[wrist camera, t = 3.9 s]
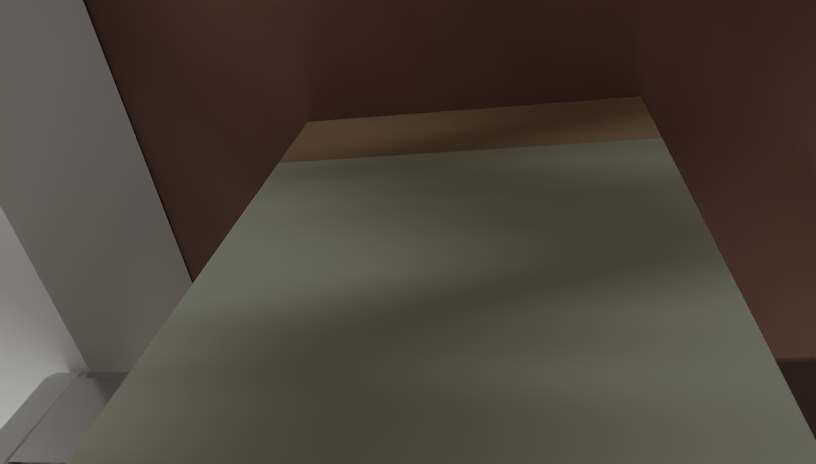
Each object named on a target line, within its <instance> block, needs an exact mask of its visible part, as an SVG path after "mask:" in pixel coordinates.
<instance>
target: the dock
mask: <svg viewBox="0 0 816 464" xmlns="http://www.w3.org/2000/svg"><path fill="white" fill-rule="evenodd" d="M191 285H192V281H191V279H190V276H189V273H188V271H187V268H186V266H185V263H184V260H183V258H182V255H181V253H180V250H179V248H178V245H177V242H176V240H175V237H174V235H173V232H172V229H171V227H170V224H169V222H168V219H167V217H166V214H165V211H164V209H163V206H162V204H161V201H160V198H159V196H158V193H157V191H156V188H155V185H154V183H153V180H152V178H151V175H150V173H149V170H148V167H147V165H146V162H145V160H144V157H143V154H142V152H141V149H140V147H139V144H138V142H137V139H136V136H135V134H134V131H133V129H132V126H131V123H130V121H129V118H128V116H127V113H126V111H125V108H124V105H123V103H122V100H121V98H120V95H119V92H118V90H117V87H116V85H115V82H114V79H113V77H112V74H111V72H110V69H109V67H108V64H107V61H106V59H105V56H104V54H103V51H102V48H101V46H100V43H99V41H98V38H97V36H96V33H95V30H94V28H93V25H92V23H91V20H90V17H89V15H88V12H87V10H86V7H85V5H84V2H83V0H0V429H1V428H2V427H3V426H4V425H5V424H6V423H7V421H8V420H9V419H10V418H11V417H12V416H13V414H14V413H15V412H16V411H17V410H18V409H19V408H20V406H21V405H22V404H23V403H24V402H25V401H26V399H27V398H28V397H29V396H30V395H31V394H32V392H33V391H34V390H35V389H36V388H37V387H38V386H39V384H40V383H41V382H42V381H43V380H44V379H45V378H46V377H49V376H51V375H53V374H55V373H57V372H79V373H86V372H130V371H131V370H132V368H133V367H134V365H135V364H136V363H137V361H138V360H139V358H140V357H141V356H142V354H143V353H144V351H145V350H146V349H147V347H148V346H149V344H150V343H151V342H152V340H153V339H154V337H155V336H156V334H157V333H158V332H159V330H160V329H161V327H162V326H163V325H164V323H165V322H166V320H167V319H168V318H169V316H170V315H171V313H172V312H173V311H174V309H175V308H176V306H177V305H178V304H179V302H180V301H181V299H182V298H183V296H184V295H185V294H186V292H187V291H188V289H189V288H190V287H191Z"/></svg>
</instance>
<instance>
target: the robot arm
mask: <svg viewBox="0 0 816 464" xmlns="http://www.w3.org/2000/svg"><path fill="white" fill-rule="evenodd" d="M774 359H775V361H776V363H777V365H778V367H779V369H780V371H781V373H782V375H783V377H784V379H785V381H786V383H787V385H788V387H789V389H790V391H791V392H792V394H793V396H794V398H795V400H796V402H797V404H798V406H799V408H800V410H801V412H802V414H803V416H804V418H805V420H806V422H807V424H808V426H809V428H810V430H811V432H812V434H813V436H814V438H815V440H816V358H813V357H803V358H774ZM128 374H129V372H86V373H79V372H57V373H55V374H53V375H51V376H49V377H46V378H45V379H44V380H43V381H42V382H41V383H40V384H39V386H38V387H37V388H36V389H35V390H34V391H33V392H32V394H31V395H30V396H29V397H28V398H27V399H26V401H25V402H24V403H23V404H22V405H21V406H20V408H19V409H18V410H17V411H16V412H15V413H14V414H13V416H12V417H11V418H10V419H9V420H8V421H7V423H6V424H5V425H4V426H3V427H2V428H1V429H0V464H65V463H66V461H67V460H68V458H69V457H70V456H71V454H72V453H73V451H74V450H75V448H76V447H77V446H78V444H79V443H80V441H81V440H82V439H83V437H84V436H85V434H86V433H87V432H88V430H89V429H90V427H91V426H92V425H93V423H94V422H95V420H96V419H97V418H98V416H99V415H100V413H101V412H102V410H103V409H104V408H105V406H106V405H107V403H108V402H109V401H110V399H111V398H112V396H113V395H114V394H115V392H116V391H117V389H118V388H119V387H120V385H121V384H122V382H123V381H124V380H125V378H126V377H127V375H128Z"/></svg>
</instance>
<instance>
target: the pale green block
mask: <svg viewBox="0 0 816 464" xmlns="http://www.w3.org/2000/svg"><path fill="white" fill-rule="evenodd" d="M65 464H816V440H815V438H814V436H813V434H812V432H811V430H810V428H809V426H808V424H807V422H806V420H805V418H804V416H803V414H802V412H801V410H800V408H799V406H798V404H797V402H796V400H795V398H794V396H793V394H792V392H791V391H790V389H789V387H788V385H787V383H786V381H785V379H784V377H783V375H782V373H781V371H780V369H779V367H778V365H777V363H776V361H775V359H774V357H773V355H772V353H771V351H770V349H769V347H768V345H767V343H766V341H765V339H764V337H763V335H762V334H761V332H760V330H759V328H758V326H757V324H756V322H755V320H754V318H753V316H752V314H751V312H750V310H749V308H748V306H747V304H746V302H745V300H744V298H743V296H742V294H741V292H740V290H739V288H738V286H737V284H736V282H735V280H734V278H733V277H732V275H731V273H730V271H729V269H728V267H727V265H726V263H725V261H724V259H723V257H722V255H721V253H720V251H719V249H718V247H717V245H716V243H715V241H714V239H713V237H712V235H711V233H710V231H709V229H708V227H707V225H706V223H705V221H704V220H703V218H702V216H701V214H700V212H699V210H698V208H697V206H696V204H695V202H694V200H693V198H692V196H691V194H690V192H689V190H688V188H687V186H686V184H685V182H684V180H683V178H682V176H681V174H680V172H679V170H678V168H677V166H676V164H675V163H674V161H673V159H672V157H671V155H670V153H669V151H668V149H667V147H666V145H665V143H664V141H663V139H662V137H661V135H660V133H659V131H658V129H657V127H656V125H655V123H654V121H653V119H652V117H651V115H650V113H649V111H648V109H647V107H646V106H645V104H644V102H643V100H642V98H641V96H636V97H623V98H610V99H597V100H584V101H571V102H558V103H545V104H533V105H520V106H507V107H494V108H481V109H468V110H455V111H442V112H429V113H416V114H403V115H390V116H377V117H364V118H351V119H338V120H325V121H313V122H307V123H306V125H305V126H304V128H303V129H302V130H301V132H300V133H299V135H298V136H297V137H296V139H295V140H294V142H293V143H292V144H291V146H290V147H289V149H288V150H287V152H286V153H285V154H284V156H283V157H282V159H281V160H280V161H279V163H278V164H277V166H276V167H275V168H274V170H273V171H272V173H271V174H270V175H269V177H268V178H267V180H266V181H265V182H264V184H263V185H262V187H261V188H260V190H259V191H258V192H257V194H256V195H255V197H254V198H253V199H252V201H251V202H250V204H249V205H248V206H247V208H246V209H245V211H244V212H243V213H242V215H241V216H240V218H239V219H238V220H237V222H236V223H235V225H234V226H233V228H232V229H231V230H230V232H229V233H228V235H227V236H226V237H225V239H224V240H223V242H222V243H221V244H220V246H219V247H218V249H217V250H216V251H215V253H214V254H213V256H212V257H211V258H210V260H209V261H208V263H207V264H206V266H205V267H204V268H203V270H202V271H201V273H200V274H199V275H198V277H197V278H196V280H195V281H194V282H193V284H192V285H191V287H190V288H189V289H188V291H187V292H186V294H185V295H184V296H183V298H182V299H181V301H180V302H179V304H178V305H177V306H176V308H175V309H174V311H173V312H172V313H171V315H170V316H169V318H168V319H167V320H166V322H165V323H164V325H163V326H162V327H161V329H160V330H159V332H158V333H157V334H156V336H155V337H154V339H153V340H152V342H151V343H150V344H149V346H148V347H147V349H146V350H145V351H144V353H143V354H142V356H141V357H140V358H139V360H138V361H137V363H136V364H135V365H134V367H133V368H132V370H131V371H130V372H129V374H128V375H127V377H126V378H125V380H124V381H123V382H122V384H121V385H120V387H119V388H118V389H117V391H116V392H115V394H114V395H113V396H112V398H111V399H110V401H109V402H108V403H107V405H106V406H105V408H104V409H103V410H102V412H101V413H100V415H99V416H98V418H97V419H96V420H95V422H94V423H93V425H92V426H91V427H90V429H89V430H88V432H87V433H86V434H85V436H84V437H83V439H82V440H81V441H80V443H79V444H78V446H77V447H76V448H75V450H74V451H73V453H72V454H71V456H70V457H69V458H68V460H67V461H66V463H65Z"/></svg>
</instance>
